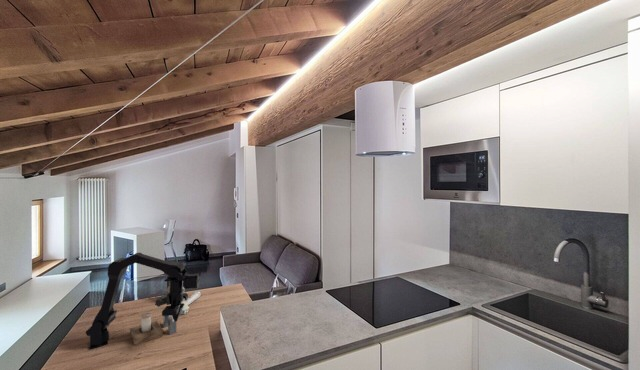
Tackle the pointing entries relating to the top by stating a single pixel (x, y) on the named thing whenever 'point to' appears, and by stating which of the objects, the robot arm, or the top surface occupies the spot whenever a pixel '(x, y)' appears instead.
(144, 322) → the white cylinder
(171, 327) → the bolt mount
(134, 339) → the socket block
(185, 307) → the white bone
